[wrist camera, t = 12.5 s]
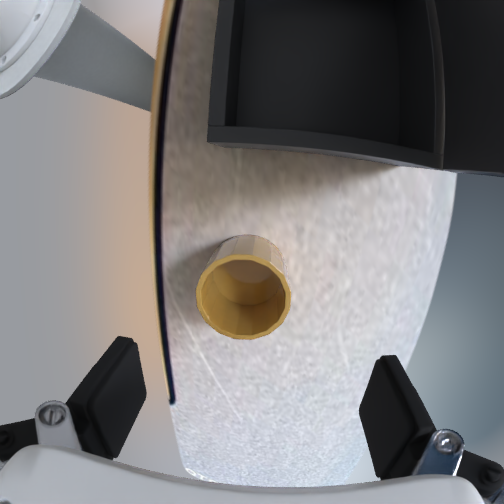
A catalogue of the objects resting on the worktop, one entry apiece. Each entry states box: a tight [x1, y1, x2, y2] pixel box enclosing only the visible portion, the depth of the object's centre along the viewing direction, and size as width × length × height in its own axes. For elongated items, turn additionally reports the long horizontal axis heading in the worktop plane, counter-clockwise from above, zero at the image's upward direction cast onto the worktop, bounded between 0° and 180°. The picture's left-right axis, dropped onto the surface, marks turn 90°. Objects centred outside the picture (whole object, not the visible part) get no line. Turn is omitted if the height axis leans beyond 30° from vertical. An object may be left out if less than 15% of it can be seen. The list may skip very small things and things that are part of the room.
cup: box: [196, 235, 291, 340], centre depth 21 cm, size 6×6×5 cm
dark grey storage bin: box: [207, 0, 445, 171], centre depth 15 cm, size 14×16×6 cm
